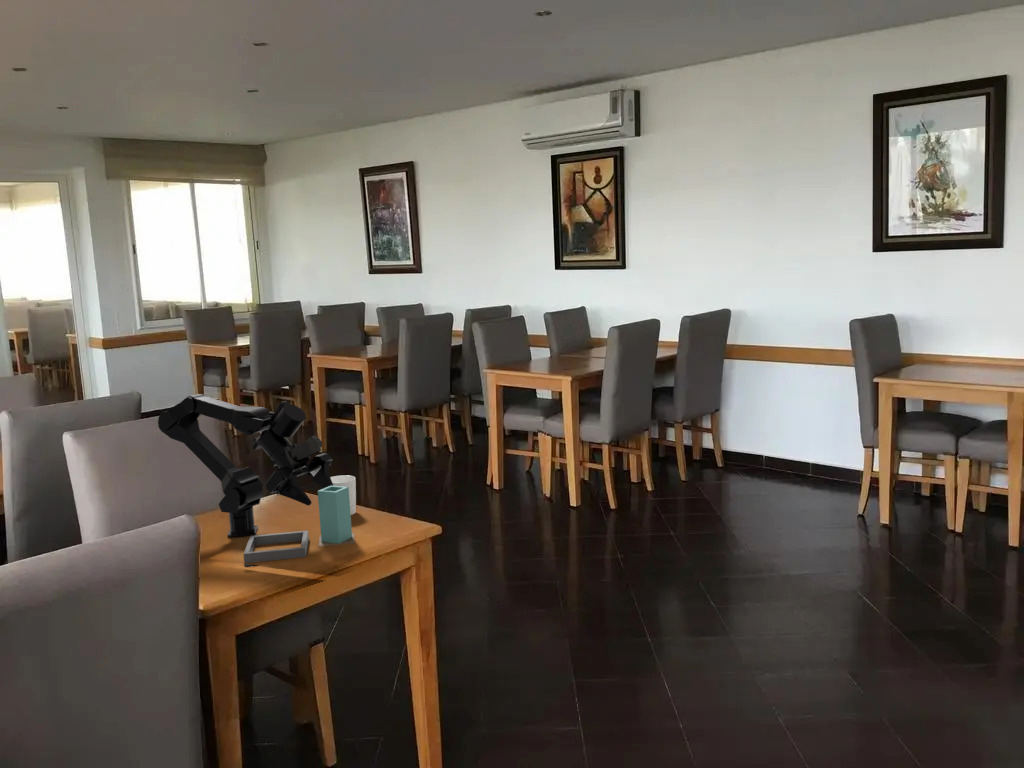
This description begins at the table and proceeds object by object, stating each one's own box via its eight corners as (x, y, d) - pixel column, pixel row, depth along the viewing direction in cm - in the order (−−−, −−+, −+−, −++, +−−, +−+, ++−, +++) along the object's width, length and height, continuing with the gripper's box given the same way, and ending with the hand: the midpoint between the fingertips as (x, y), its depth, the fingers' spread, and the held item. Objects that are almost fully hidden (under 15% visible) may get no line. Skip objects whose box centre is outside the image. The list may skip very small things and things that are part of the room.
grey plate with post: (320, 539, 203) (318, 523, 203) (354, 536, 205) (353, 520, 204) (318, 550, 196) (317, 533, 195) (354, 547, 197) (353, 530, 196)
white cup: (320, 520, 220) (317, 482, 218) (337, 511, 227) (334, 474, 225) (347, 522, 217) (344, 483, 215) (363, 513, 224) (361, 476, 223)
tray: (251, 548, 199) (250, 535, 199) (309, 542, 201) (308, 530, 201) (244, 567, 187) (243, 553, 186) (306, 561, 189) (305, 547, 188)
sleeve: (321, 541, 199) (317, 490, 197) (334, 535, 203) (330, 485, 202) (339, 543, 197) (335, 492, 195) (352, 537, 201) (348, 486, 200)
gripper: (271, 435, 192) (315, 486, 189) (322, 420, 208) (364, 467, 205) (246, 468, 196) (290, 518, 193) (299, 450, 213) (339, 497, 210)
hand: (322, 498), depth 200 cm, fingers open, 9 cm apart
